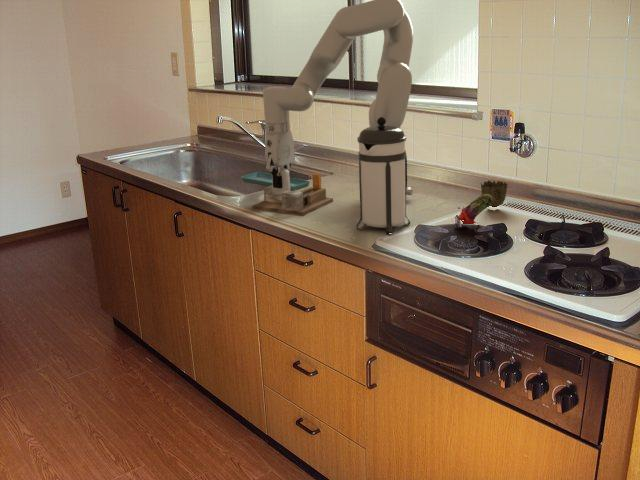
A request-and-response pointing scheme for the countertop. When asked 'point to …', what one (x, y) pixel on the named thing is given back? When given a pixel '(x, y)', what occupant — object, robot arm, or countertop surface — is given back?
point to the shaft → (316, 186)
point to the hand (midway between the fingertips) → (281, 185)
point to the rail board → (292, 201)
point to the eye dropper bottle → (283, 182)
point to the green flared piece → (495, 191)
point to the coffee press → (382, 176)
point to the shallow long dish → (267, 180)
